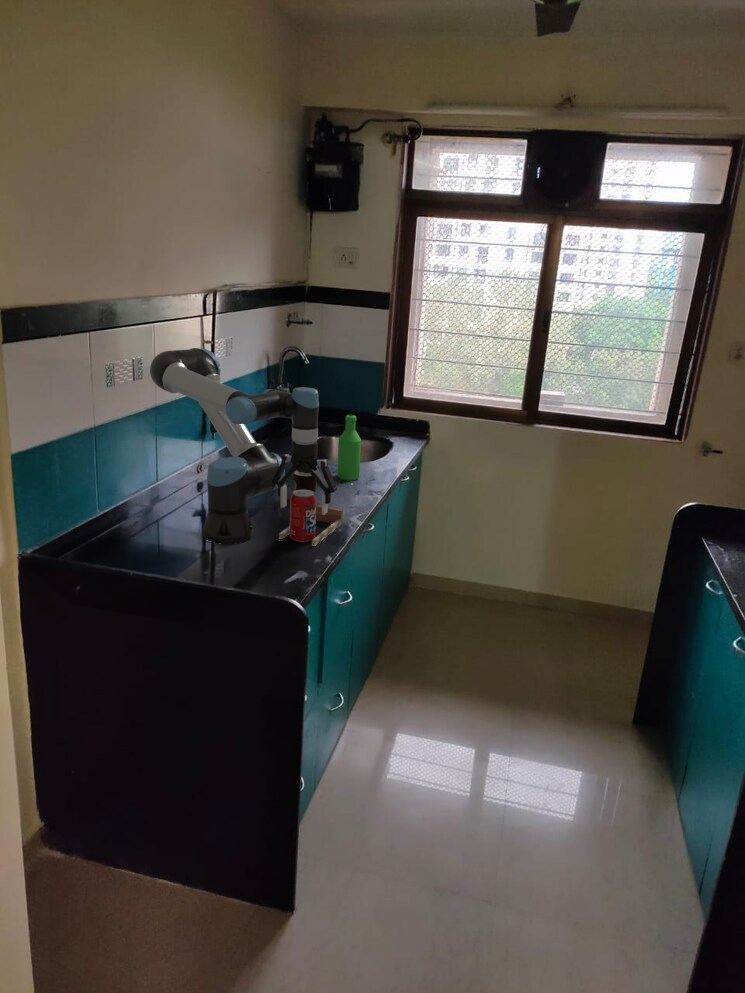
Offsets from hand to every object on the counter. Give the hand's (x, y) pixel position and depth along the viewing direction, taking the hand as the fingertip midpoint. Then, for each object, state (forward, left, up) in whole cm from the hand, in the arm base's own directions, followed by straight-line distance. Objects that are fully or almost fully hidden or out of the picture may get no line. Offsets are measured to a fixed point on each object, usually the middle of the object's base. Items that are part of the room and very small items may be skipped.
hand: (303, 510), depth 213 cm
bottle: (+55, +38, -10) cm, 68 cm away
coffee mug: (+26, +29, -10) cm, 40 cm away
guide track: (+6, +3, -9) cm, 12 cm away
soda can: (0, 0, -10) cm, 10 cm away
